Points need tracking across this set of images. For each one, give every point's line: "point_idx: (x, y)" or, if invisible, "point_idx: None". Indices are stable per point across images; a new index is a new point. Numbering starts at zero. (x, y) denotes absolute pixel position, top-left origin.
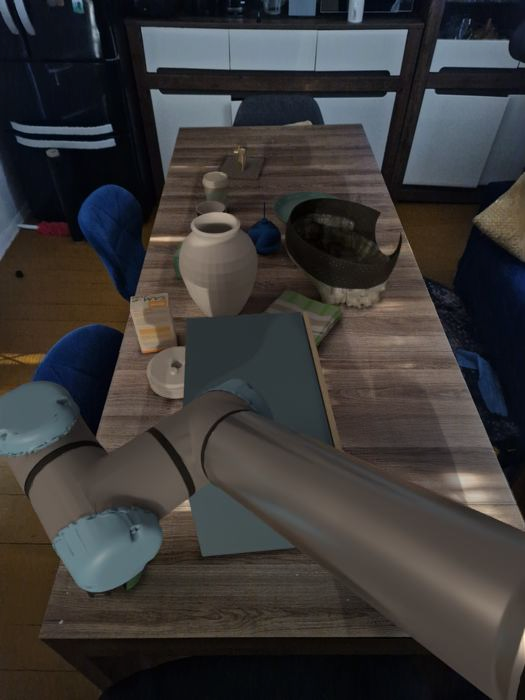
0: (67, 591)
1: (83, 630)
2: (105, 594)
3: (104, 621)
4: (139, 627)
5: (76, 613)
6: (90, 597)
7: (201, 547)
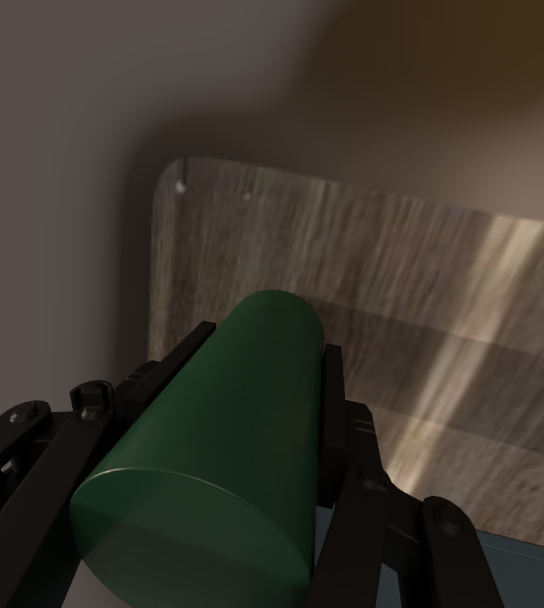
0: (250, 195)
1: (158, 244)
2: (6, 471)
3: (173, 290)
4: (158, 356)
5: (194, 225)
6: (7, 411)
7: None
